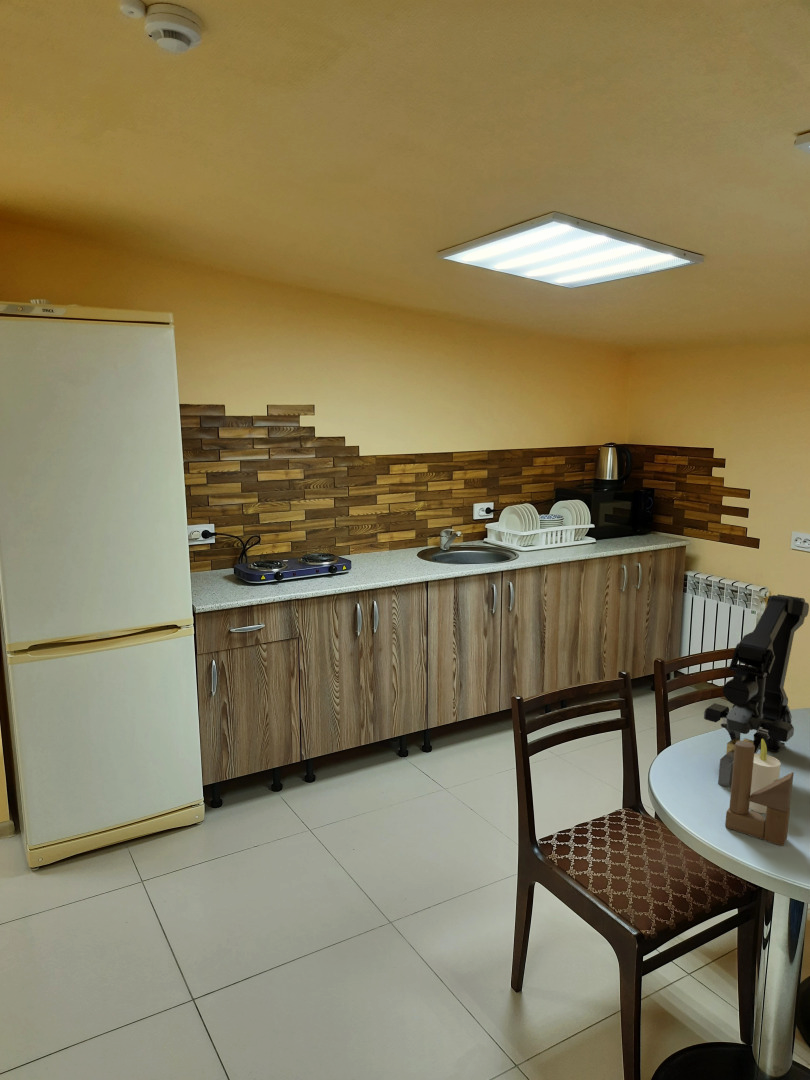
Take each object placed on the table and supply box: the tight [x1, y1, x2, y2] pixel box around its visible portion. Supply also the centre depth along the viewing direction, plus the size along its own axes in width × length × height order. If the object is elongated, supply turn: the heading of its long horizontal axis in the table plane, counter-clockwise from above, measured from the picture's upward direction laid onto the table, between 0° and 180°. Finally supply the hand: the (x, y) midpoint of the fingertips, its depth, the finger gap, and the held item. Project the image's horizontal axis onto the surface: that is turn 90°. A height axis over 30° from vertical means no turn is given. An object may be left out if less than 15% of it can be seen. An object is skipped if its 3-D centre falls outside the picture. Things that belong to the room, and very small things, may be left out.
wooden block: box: [724, 740, 794, 847], centre depth 142 cm, size 4×11×18 cm, turn 52°
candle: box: [749, 739, 782, 815], centre depth 153 cm, size 6×6×15 cm
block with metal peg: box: [717, 742, 736, 788], centre depth 166 cm, size 10×4×8 cm, turn 136°
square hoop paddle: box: [725, 738, 754, 755], centre depth 171 cm, size 10×4×8 cm, turn 136°
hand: (744, 755), depth 172 cm, fingers open, 3 cm apart
